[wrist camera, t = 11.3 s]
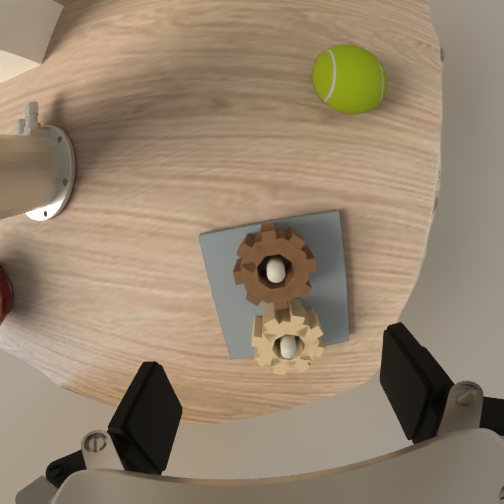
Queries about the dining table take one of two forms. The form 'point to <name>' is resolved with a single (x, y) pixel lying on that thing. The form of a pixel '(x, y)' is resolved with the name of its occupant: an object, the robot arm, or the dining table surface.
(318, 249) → the gear board
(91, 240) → the dining table surface
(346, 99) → the tennis ball
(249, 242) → the walnut gear
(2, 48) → the milk
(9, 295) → the decorative planter
